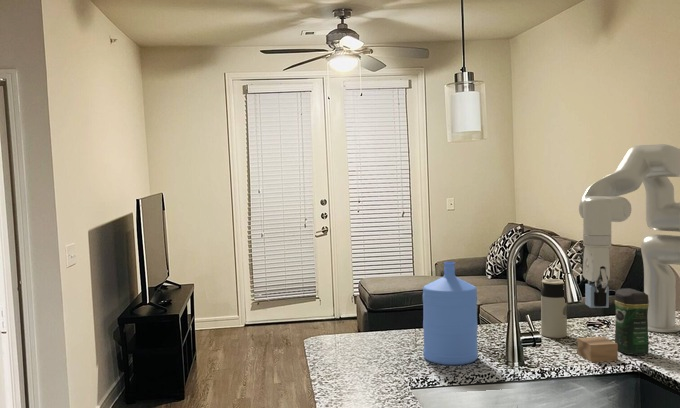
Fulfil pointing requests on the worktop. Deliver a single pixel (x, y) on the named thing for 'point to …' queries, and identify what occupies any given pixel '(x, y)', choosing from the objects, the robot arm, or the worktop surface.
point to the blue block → (590, 296)
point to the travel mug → (553, 309)
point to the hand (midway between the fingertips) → (596, 303)
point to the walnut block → (597, 349)
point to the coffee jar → (631, 321)
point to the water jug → (450, 320)
